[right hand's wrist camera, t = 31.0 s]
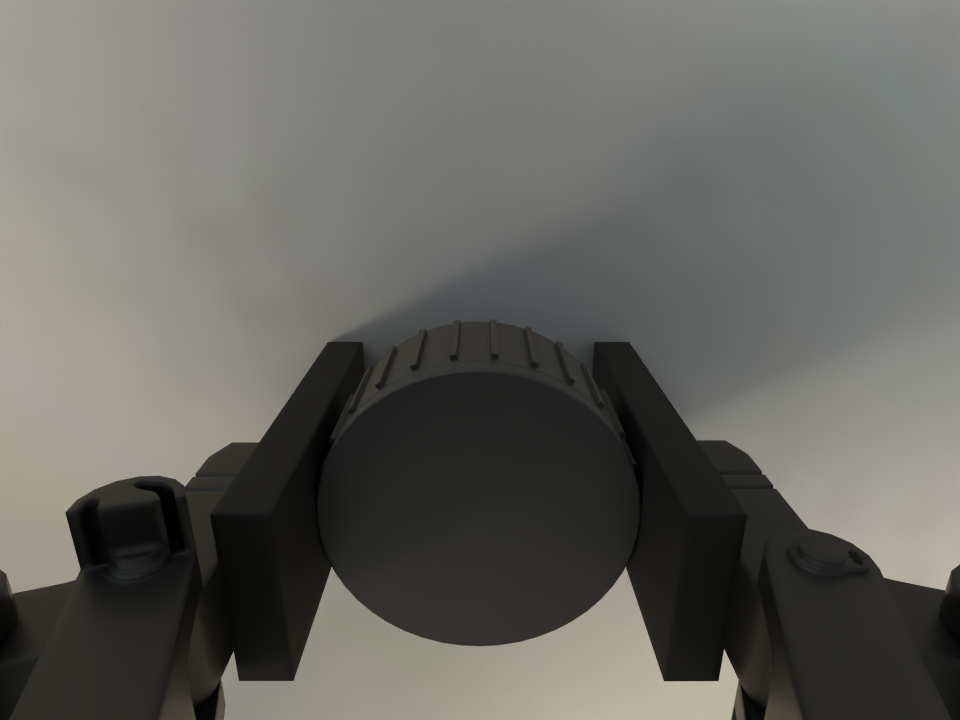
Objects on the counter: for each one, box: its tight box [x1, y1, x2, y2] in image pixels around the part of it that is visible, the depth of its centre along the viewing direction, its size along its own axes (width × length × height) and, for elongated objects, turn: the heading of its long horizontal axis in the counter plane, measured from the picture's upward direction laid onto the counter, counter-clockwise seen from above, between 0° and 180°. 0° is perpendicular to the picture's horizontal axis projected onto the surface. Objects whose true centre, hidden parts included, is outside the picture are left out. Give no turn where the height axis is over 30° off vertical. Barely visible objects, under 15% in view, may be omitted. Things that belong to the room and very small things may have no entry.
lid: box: [316, 320, 641, 646], centre depth 11 cm, size 5×5×2 cm
